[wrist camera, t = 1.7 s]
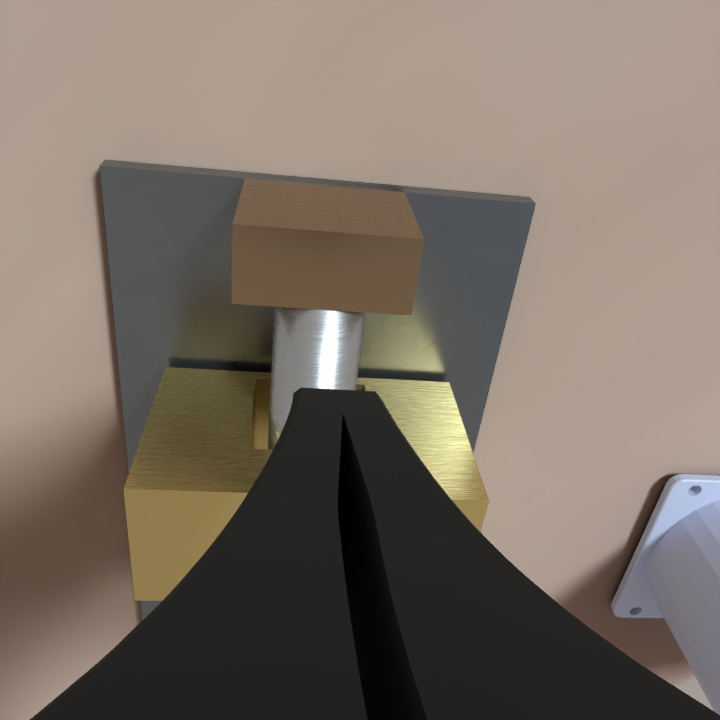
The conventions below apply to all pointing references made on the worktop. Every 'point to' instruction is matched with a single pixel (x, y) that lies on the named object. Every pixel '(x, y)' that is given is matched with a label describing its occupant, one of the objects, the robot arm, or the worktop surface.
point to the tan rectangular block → (254, 462)
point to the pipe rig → (305, 283)
